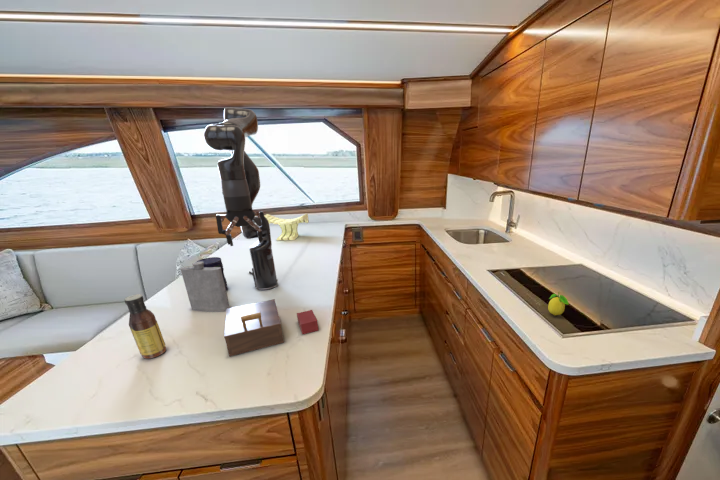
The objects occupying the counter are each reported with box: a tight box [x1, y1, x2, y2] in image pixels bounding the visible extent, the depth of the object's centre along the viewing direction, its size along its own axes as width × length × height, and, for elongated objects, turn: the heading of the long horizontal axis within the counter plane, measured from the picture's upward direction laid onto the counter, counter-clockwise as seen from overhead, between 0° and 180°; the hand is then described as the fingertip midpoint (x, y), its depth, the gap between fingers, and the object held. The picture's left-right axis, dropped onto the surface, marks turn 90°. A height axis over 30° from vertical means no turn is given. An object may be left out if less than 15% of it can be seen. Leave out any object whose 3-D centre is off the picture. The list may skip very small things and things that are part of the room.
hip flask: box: [180, 261, 231, 312], centre depth 117 cm, size 16×4×20 cm, turn 84°
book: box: [296, 309, 319, 335], centre depth 106 cm, size 9×6×4 cm, turn 27°
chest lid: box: [223, 298, 282, 340], centre depth 98 cm, size 20×16×5 cm
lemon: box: [547, 292, 569, 317], centre depth 110 cm, size 7×6×10 cm
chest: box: [224, 325, 285, 357], centre depth 101 cm, size 19×16×7 cm
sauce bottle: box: [123, 293, 167, 360], centre depth 89 cm, size 6×6×20 cm
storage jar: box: [196, 256, 229, 292], centre depth 134 cm, size 10×10×15 cm
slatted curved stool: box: [264, 212, 310, 241], centre depth 227 cm, size 30×16×18 cm, turn 93°
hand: (246, 243), depth 99 cm, fingers open, 8 cm apart
